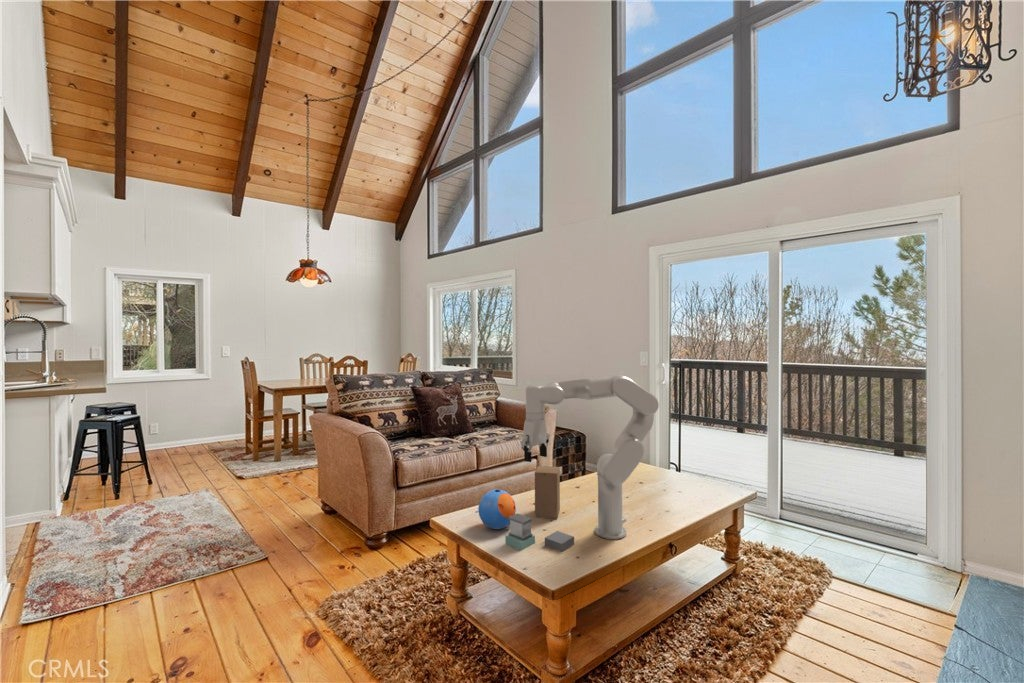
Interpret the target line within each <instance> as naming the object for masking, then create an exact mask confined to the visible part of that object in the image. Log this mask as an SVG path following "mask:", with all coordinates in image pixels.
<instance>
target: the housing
mask: <svg viewBox="0 0 1024 683" xmlns="http://www.w3.org/2000/svg"><path fill="white" fill-rule="evenodd" d="M509 520H510V524H509V525H510V530H509V532H508V535H510V536H512V537H515V538H517V539H520V540H523V541H525V540H527V539H529V538H531V537H532V535H533V533H532V532H531V531H532V530H531V528H532V526H531V525H532V524H531V523H532V522H533V518H532V517H529V516H526V515H523V514H521V513H517V512H516V513H515V515H512V516H510V517H509Z"/></svg>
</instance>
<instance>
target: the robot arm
mask: <svg viewBox="0 0 1024 683" xmlns="http://www.w3.org/2000/svg"><path fill="white" fill-rule="evenodd" d="M613 397H617V398H619V400H621V401H623V402H624V403H625V404H627V405H628V406H630V407H631V408H632V415H631V418H630V419H629V421H628V423H627V424H626V425H625V427H624V429H622V431H621V433H620V434H619V435H618V436H617V437H616V439H615V441H614V444H613V445H614V448H615V451H616V452H615V453H614V454H613V453H604V454H602V455H601V456H600V457H599V458H598V460H597V465H596V474H597V492H598V493H597V512H598V513H597V518H598V519H597V525H596V526H595V527H594V530H593V531H594V533H595V535H596V536H598V537H600V538H602V539H605V540H606V539H607V540H619V539H622V538H624V537H625V536H627V530H626V529H625V527H623V525H624V523H626V522H627V518H626V517H624V516H623V484H624V483H625V482H626V481H627V480H628V479H629V478H630V476H631V475H632V474H633V472H634V471H635V470H636V468H637V467H638V466H639V464H640V463H641V461H642V460H643V458H644V455H645V447H644V444H643V442H644V440H645V439H646V438H647V436H648V434H649V433H650V431H651V429H652V427H653V426H654V422H655V420H654V419H655V414H656V413H657V411H658V410H659V407H660V405H659V401H658V398H657V397H656V396H655V395H653V394H652V392H651V393H650V392H649V391H648V390H646V389H645V388H643V387H642V386H640V385H639V384H637V383H636V382H635V381H634V380H633V379H631V378H629V377H627V376H625V375H623V374H613V375H607V376H598V377H589V378H581V379H574V380H572V379H571V380H564V381H555V382H552V383H548V384H547V385H545V386H543V385H541V384H532V385H531V384H530V385H528V386H526V388H525V420H524V423H523V424H524V425H523V432H522V439H521V441H520V445H521V446H520V447H521V449H522V450H523V454H524V455H523V456H524V457H523V458H524V460H523V461H525V462H528V463H531V462H532V461H533V460H532V449H533V447H535V446H539V445H540V446H539V456H540V457H545V458H546V457H548V450H547V449H548V444H549V442H550V437H551V435H550V433H548V431H547V424H546V423H547V422H546V416H545V415H546V413H545V412H546V410H545V409H546V406H545V405H546V404H547V405H560V404H561V403H562V402H564V400H568V399H581V400H586V401H590V400H591V401H592V400H599V399H607V398H613Z"/></svg>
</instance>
